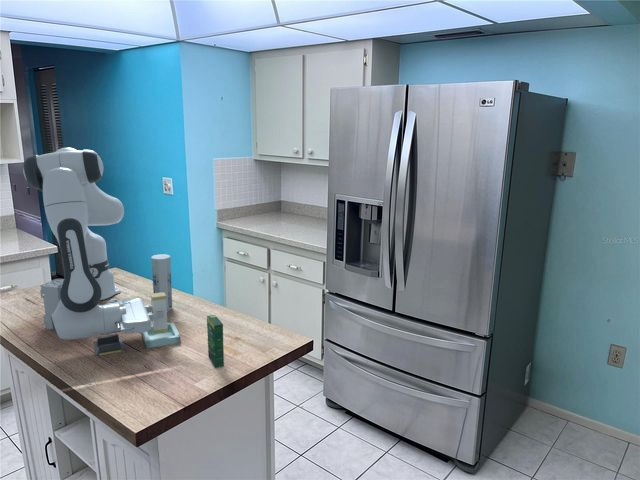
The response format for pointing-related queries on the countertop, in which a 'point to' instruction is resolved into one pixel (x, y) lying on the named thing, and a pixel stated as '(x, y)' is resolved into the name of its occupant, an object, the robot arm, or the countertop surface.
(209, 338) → the coffee box
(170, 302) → the spray can
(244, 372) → the countertop surface
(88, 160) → the robot arm
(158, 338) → the tray
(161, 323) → the fuse
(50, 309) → the circuit breaker
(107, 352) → the rails
